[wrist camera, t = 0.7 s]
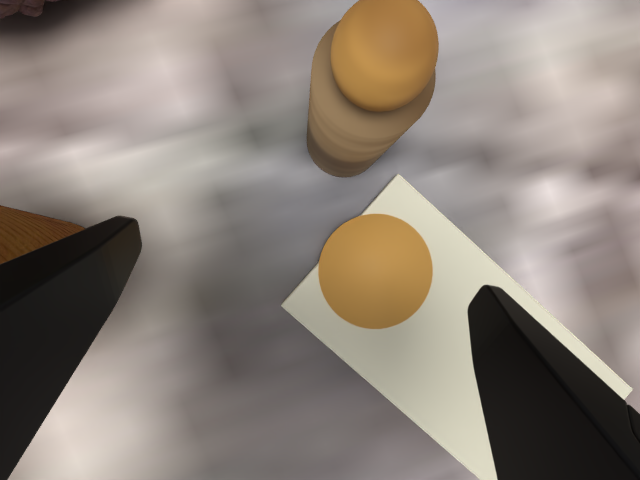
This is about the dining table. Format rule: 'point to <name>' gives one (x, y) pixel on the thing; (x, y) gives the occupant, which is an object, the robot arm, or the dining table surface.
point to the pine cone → (22, 7)
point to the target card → (416, 316)
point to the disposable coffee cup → (29, 232)
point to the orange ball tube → (369, 83)
